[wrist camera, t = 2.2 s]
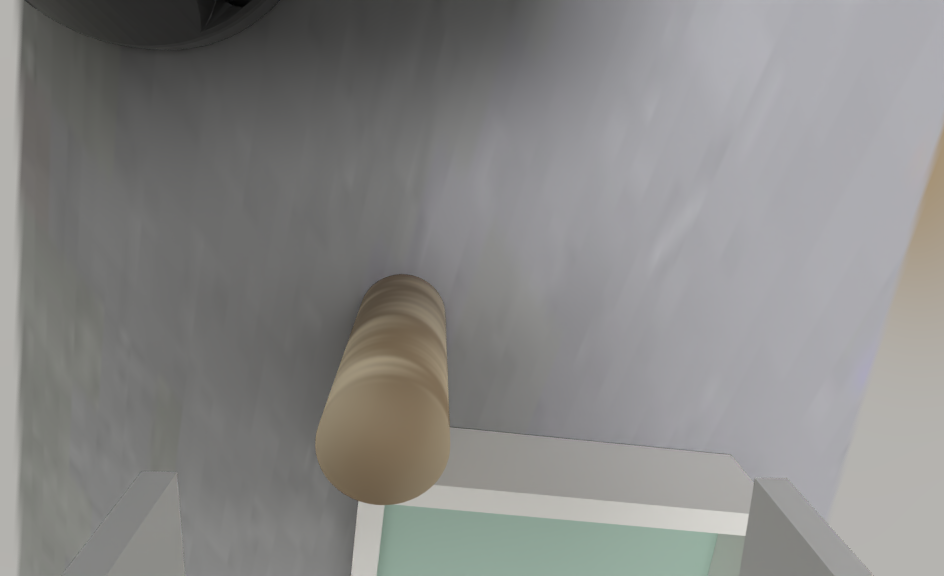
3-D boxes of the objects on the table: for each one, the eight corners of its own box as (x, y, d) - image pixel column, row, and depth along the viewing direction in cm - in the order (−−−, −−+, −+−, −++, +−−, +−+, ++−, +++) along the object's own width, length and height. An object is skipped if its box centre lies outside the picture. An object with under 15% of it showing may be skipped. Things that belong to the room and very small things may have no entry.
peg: (356, 350, 37) (310, 499, 24) (363, 269, 36) (320, 376, 23) (439, 359, 38) (442, 510, 24) (450, 279, 36) (458, 390, 23)
